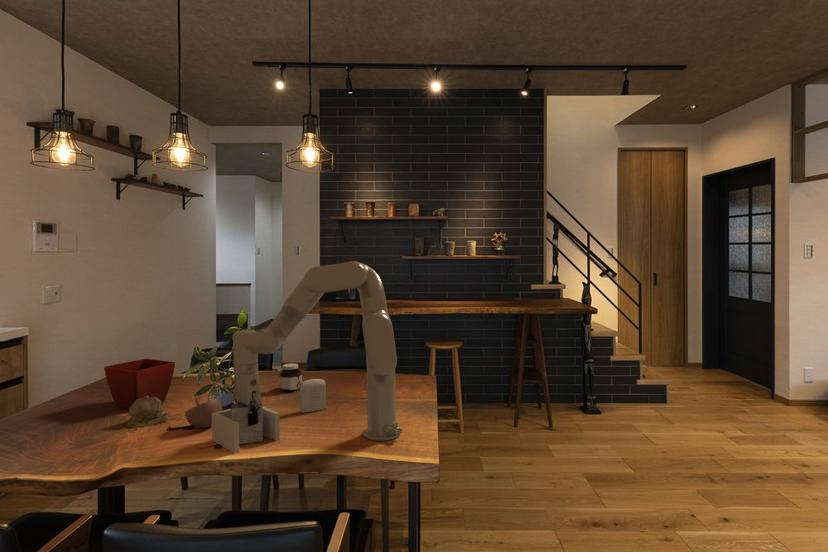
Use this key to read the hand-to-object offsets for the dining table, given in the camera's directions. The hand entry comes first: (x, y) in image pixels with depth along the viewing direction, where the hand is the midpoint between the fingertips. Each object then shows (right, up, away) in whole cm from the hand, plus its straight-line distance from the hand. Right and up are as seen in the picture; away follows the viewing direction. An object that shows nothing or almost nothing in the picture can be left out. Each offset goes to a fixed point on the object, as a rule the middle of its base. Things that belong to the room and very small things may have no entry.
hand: (246, 421), depth 163 cm
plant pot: (-58, -6, +42) cm, 72 cm away
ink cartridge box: (0, -7, 0) cm, 7 cm away
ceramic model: (-43, -6, +20) cm, 48 cm away
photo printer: (+15, -5, +33) cm, 37 cm away
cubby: (-1, -6, +1) cm, 6 cm away
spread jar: (-2, -4, +65) cm, 65 cm away
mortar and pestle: (-20, -6, +14) cm, 25 cm away
